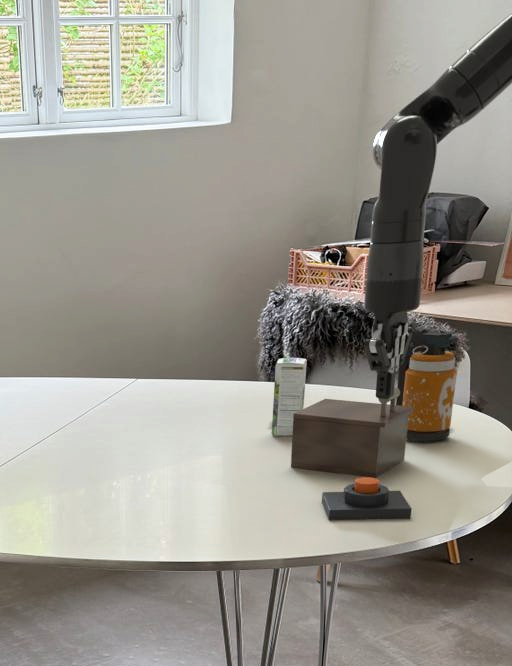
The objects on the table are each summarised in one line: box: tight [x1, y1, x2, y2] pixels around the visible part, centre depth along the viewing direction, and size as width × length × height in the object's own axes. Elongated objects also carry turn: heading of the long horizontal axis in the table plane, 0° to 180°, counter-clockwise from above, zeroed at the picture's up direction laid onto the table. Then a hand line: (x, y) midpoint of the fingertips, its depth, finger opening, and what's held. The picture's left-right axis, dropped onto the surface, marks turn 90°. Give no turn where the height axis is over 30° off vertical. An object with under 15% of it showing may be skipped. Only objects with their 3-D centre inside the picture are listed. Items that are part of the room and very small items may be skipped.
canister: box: [395, 329, 459, 443], centre depth 180 cm, size 9×11×20 cm
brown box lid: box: [293, 386, 414, 428], centre depth 167 cm, size 17×13×5 cm
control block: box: [321, 483, 412, 521], centre depth 148 cm, size 12×9×4 cm
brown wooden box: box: [290, 414, 409, 479], centre depth 170 cm, size 16×13×9 cm
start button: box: [354, 476, 380, 493], centre depth 147 cm, size 4×4×2 cm
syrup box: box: [271, 357, 308, 437], centre depth 191 cm, size 6×6×14 cm
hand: (384, 397), depth 143 cm, fingers closed
